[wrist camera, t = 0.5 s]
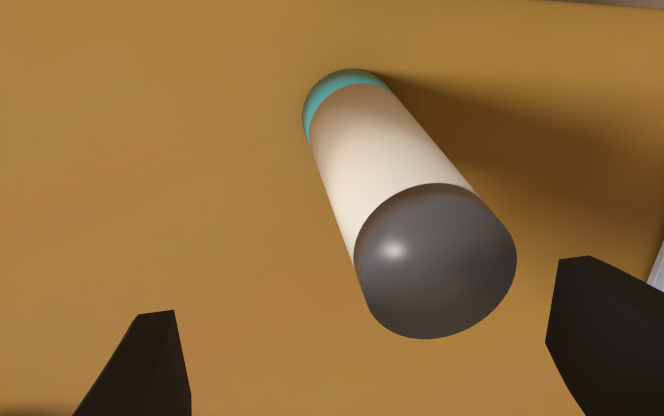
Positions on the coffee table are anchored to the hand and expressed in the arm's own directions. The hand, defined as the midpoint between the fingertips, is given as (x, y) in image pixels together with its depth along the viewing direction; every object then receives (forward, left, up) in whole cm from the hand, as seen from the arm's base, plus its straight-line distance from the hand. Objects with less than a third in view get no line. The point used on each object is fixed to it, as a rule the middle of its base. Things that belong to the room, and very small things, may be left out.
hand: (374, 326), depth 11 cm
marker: (-1, -1, -9) cm, 10 cm away
